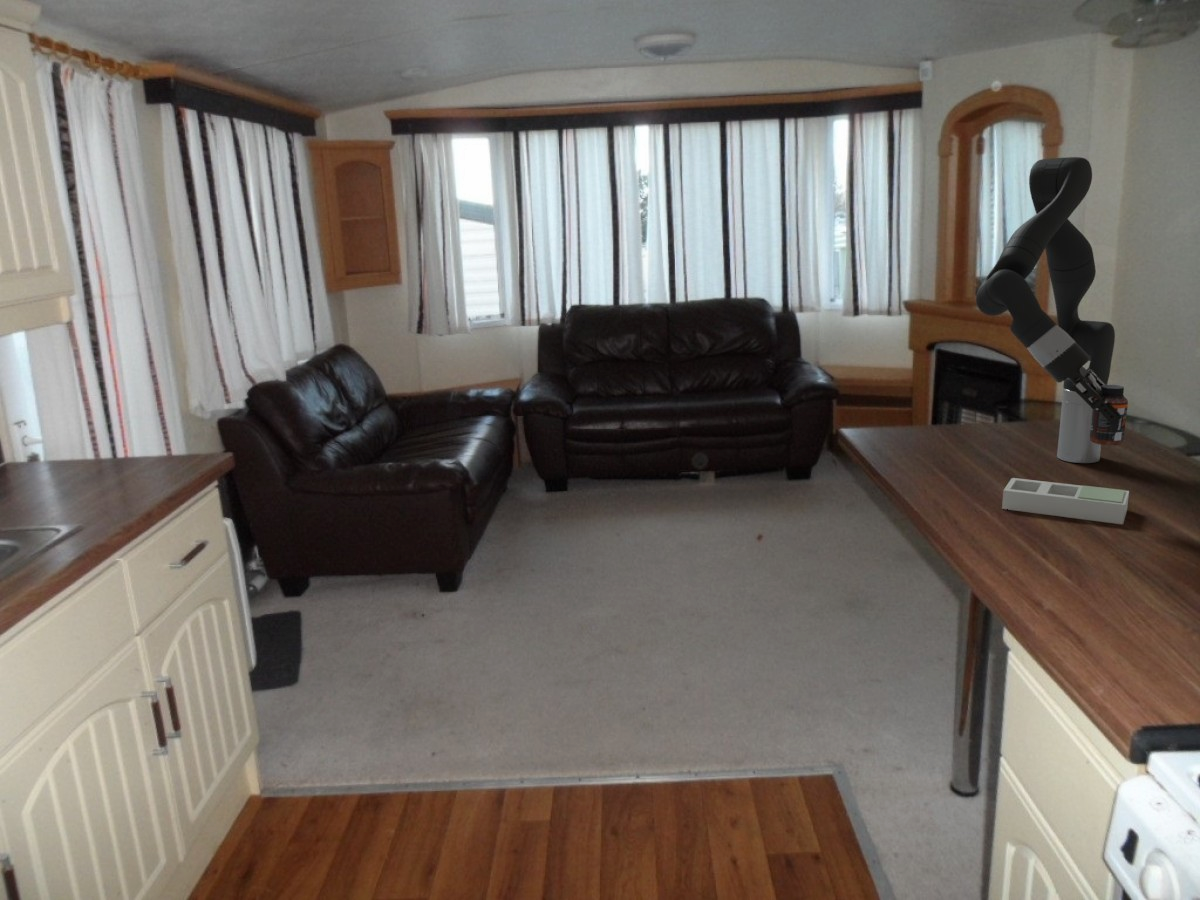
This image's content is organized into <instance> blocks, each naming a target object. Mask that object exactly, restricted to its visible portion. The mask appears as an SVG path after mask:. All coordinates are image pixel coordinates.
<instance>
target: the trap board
mask: <svg viewBox="0 0 1200 900" xmlns="http://www.w3.org/2000/svg"><path fill="white" fill-rule="evenodd" d="M1129 496H1130V490H1125V489H1118V488H1109V487H1099V486H1093V485H1092V486H1091V485H1078V484H1071V483H1061V482H1052V481H1045V480H1044V481H1042V480H1036V479H1035V480H1033V479H1028V478H1027V479H1026V478H1017V477H1012V478H1010V480H1009V481H1008V483H1007V485H1006V486H1005V488H1004V489H1003V491H1002V504H1001V505H1002V506H1001V509H1002V510H1007V509H1008V510H1009V511H1017V512H1023V513H1032V514H1039V515H1045V516H1046V515H1048V516H1054V517H1055V516H1056V517H1060V518H1061V517H1063V518H1070V519H1078V520H1083V521H1084V520H1086V521H1091V522H1093V521H1094V522H1100V523H1108V524H1116V525H1124V522H1125V519H1126V515H1127V512H1128V506H1129V505H1128V503H1129Z"/></svg>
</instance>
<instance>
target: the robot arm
mask: <svg viewBox="0 0 1200 900" xmlns="http://www.w3.org/2000/svg"><path fill="white" fill-rule="evenodd" d="M1029 171H1030V172H1029V177H1028V186H1029V193H1030V196H1031V201H1032V204H1033V207H1034V211H1035V214H1034V215H1033V216H1031V217H1030V218H1029V219H1027V220H1026V221H1025V222H1024V223H1022V225H1020V226H1019V227H1018V228H1016V230H1015V231H1014V232H1013V234H1012V235H1011V236H1010V238H1009V240H1008V241H1007V243H1006V245H1005V247H1004V248H1003V249H1002V251H1001V253H1000V256H999V258H998V260H997V261H996V264H995V265H994V266H993V268H992V269H991V270H990V272H989V273H988V275H987V276H986V277H985V278H984V280H983V281H982V283H981V285H980V286H979V288H978V290H977V293H976V297H975V302H976V307H977V308H978V309H979V311H980V312H981V313H982V314H984V315H987V316H992V317H993V316H999V315H1002V314H1004V313H1005V312H1007V311H1008V312H1009V314H1010V316H1011V318H1012V322H1011V323H1010V327H1009V328H1010V332H1011V333H1012V334H1013V336H1014V337H1016V339H1018V341H1019V342H1020V343H1021V344H1022V345H1023V346H1024V347H1025V348H1026V349H1027V350H1028V352H1029V353H1030V354H1031V356H1032V357H1033V358H1034V359H1035V361H1036V362H1037V363H1038V364H1039V365H1040V366H1041V367H1042V368H1043V369H1044V370H1045V371H1046V372H1047V373H1048V374H1049V375H1050V376H1051V377H1052V379H1054V381H1056V382H1057V383H1062V382H1063V387H1062V389H1063V390H1062V398H1061V408H1060V409H1061V410H1060V421H1059V423H1060V424H1059V432H1058V442H1057V451H1056V452H1057V453H1056V458H1057V459H1059V460H1062V461H1065V462H1069V463H1074V464H1075V463H1076V464H1077V463H1078V464H1092V463H1093V464H1094V463H1098V462H1099V461H1100V460H1101V459H1100V458H1101V449H1102V445H1100V444H1096V443H1093V442H1091V441H1090V430H1091V420H1092V410H1093V409H1094V410H1095V409H1096V410H1099V411H1100V412H1101V413H1102V414H1103V415H1104V416H1105V417H1106V418H1107V420H1108V421H1109V422H1110V423H1112V424H1114V423H1116V422H1117V421H1119V420H1120V419H1121V418H1122V416H1121V414H1120V413H1119V412H1118V411H1117V410H1116V409H1115V408H1114V407H1113V406H1112V405H1111V404H1110V403H1109V402H1108V400H1107V399H1106V398H1105V397H1104V395H1103V390H1102V388H1101V386H1102V385H1108V382H1109V378H1110V375H1111V374H1110V373H1111V365H1112V360H1113V353H1114V348H1115V342H1116V339H1115V338H1116V334H1115V333H1116V331H1115V328H1114V326H1113V324H1112V323H1111V322H1107V321H1096V320H1081V319H1080V317H1079V306H1080V303H1081V302H1082V299H1083V298H1084V296H1085V295H1086V294H1087V292H1088V291H1089V289H1090V287H1091V286H1092V285H1093V283H1094V280H1095V277H1096V273H1097V272H1096V263H1095V258H1094V252H1093V247H1092V245H1091V244H1090V242H1089V240H1088V239H1087V237H1086V236H1085V235H1084V234H1083V233H1082V232H1081V231H1080V230H1079V229H1078V228H1077V227H1076V226H1075V225H1074V223H1072V221H1070V220H1069V218H1070V216H1072V214H1073V212H1075V210H1076V209H1077V208H1078V206H1080V204H1081V203H1082V202H1083V200H1084V199H1085V198H1086V195H1087V194H1088V192H1089V190H1090V187H1091V184H1092V180H1093V169H1092V166H1091V163H1090V161H1089V160H1088V159H1086V158H1085V157H1080V156H1069V157H1051V158H1044V159H1043V158H1042V159H1039V160H1037V161H1036V162H1034V163H1033V164H1032V166H1031V168H1030V170H1029ZM1044 251H1045V255H1046V264H1047V268H1048V272H1049V273H1048V274H1049V278H1050V279H1049V280H1050V282H1051V286H1052V291H1053V296H1054V297H1053V298H1054V303H1055V309H1056V321H1057V323H1056V322H1055V320H1053V319H1052V318H1051V317H1050V316H1049V315H1048V314H1047V312H1045V311H1044V310H1043V309H1042V307H1041V304H1040V302H1039V301H1038V299H1037V297H1036V295H1035V293H1034V292H1033V290H1032V289H1031V287H1030V285H1029V284H1028V282H1027V281H1026V278H1028V276H1030V274H1032V272H1033V270H1034V269H1035V268H1036V266H1037V264H1038V263H1039V260H1040V258H1041V257H1042V255H1043V253H1044ZM1088 362H1089V366H1088V368H1085V367H1084V366H1085V365H1086V364H1087V363H1088ZM1095 398H1098V399H1097V400H1096V401H1095V402H1094V399H1095ZM1107 403H1108V404H1107Z"/></svg>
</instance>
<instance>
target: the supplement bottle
mask: <svg viewBox="0 0 1200 900" xmlns="http://www.w3.org/2000/svg"><path fill="white" fill-rule="evenodd" d="M1101 388H1102V390H1103V395H1104V397H1105V398H1106V399H1107V400H1108V402H1109V403H1110V404H1111V405H1112V406H1113V407H1114V408H1115V409H1116V410H1117V411H1118V412H1119V413H1120V414H1121V416H1122V418H1121V419H1120V420H1119V421H1117V422H1116V423H1114V424H1112V423H1110V422H1109V421H1108V420H1107V418H1106V417H1105V416H1104V415H1103V414H1102V413H1101V412H1100V411H1099V410H1096V409H1095V410H1094V409H1093V410H1092V420H1091V430H1090V441H1091V442H1093V443H1096V444H1100V445H1101V446H1120V445H1122V444H1123V443H1124V438H1125V437H1124V436H1125V431H1126V422H1127V413H1128V405H1129V404H1128V403H1129V401H1128V399H1127V398H1126V397H1125V395H1124V391H1125V387H1124V386H1123V385H1119V384H1107V385H1102V386H1101ZM1097 399H1098V398H1095V399H1094V402H1095V401H1096V400H1097ZM1107 404H1108V403H1107Z"/></svg>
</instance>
